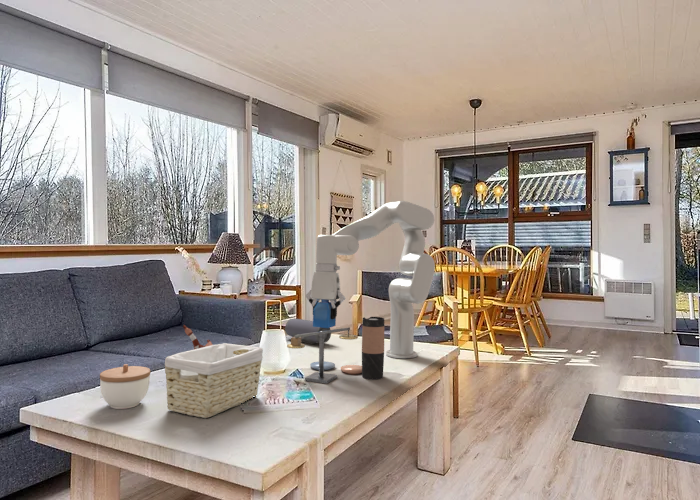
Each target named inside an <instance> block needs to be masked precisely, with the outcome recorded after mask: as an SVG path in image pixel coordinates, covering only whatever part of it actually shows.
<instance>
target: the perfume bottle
mask: <svg viewBox="0 0 700 500" xmlns="http://www.w3.org/2000/svg"><path fill="white" fill-rule="evenodd" d="M331 308H332V305H331V302H330V300H320V301H319V302H318V303H317V304H316V306H315V308H314V309H313V308H312V321H313V327H322V328H330V329H331V328H333V327H336V322H337V317H336V318H335V319H331Z"/></svg>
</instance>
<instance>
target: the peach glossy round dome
mask: <svg viewBox="0 0 700 500" xmlns="http://www.w3.org/2000/svg"><path fill="white" fill-rule="evenodd" d="M340 371H341V372H343V373H344V374H349V375H358V374H362V365H359V364H345V365H342V366H340Z"/></svg>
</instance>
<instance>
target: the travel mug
mask: <svg viewBox="0 0 700 500" xmlns="http://www.w3.org/2000/svg"><path fill="white" fill-rule="evenodd" d="M361 322H362V329H361V366H362V373H361V376H362V378H363V379H366V380H374V381H375V380H381V379H383V377H384V360H385V318H384V317H381V316H370V317H368V318H366V317H362V321H361Z"/></svg>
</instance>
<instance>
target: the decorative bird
mask: <svg viewBox="0 0 700 500" xmlns="http://www.w3.org/2000/svg"><path fill="white" fill-rule="evenodd" d="M182 328H183V329H184V332H185V334H186V335H187V336H188V337H189V339H190V341H191V342H192V346H193V350H195V349H199V348H203V347H207V346H212V345H214V344H213V343H212V341H211V340H210V339H207V340H206V341H207V343H205V345H204V344H203V345H202V344H201V343H200V342H199V340H198V338H197V336H196V335H195V334H194V333H193V330H192V329H191V328H189V327H187V326H186V325H185V324H183V326H182Z"/></svg>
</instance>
